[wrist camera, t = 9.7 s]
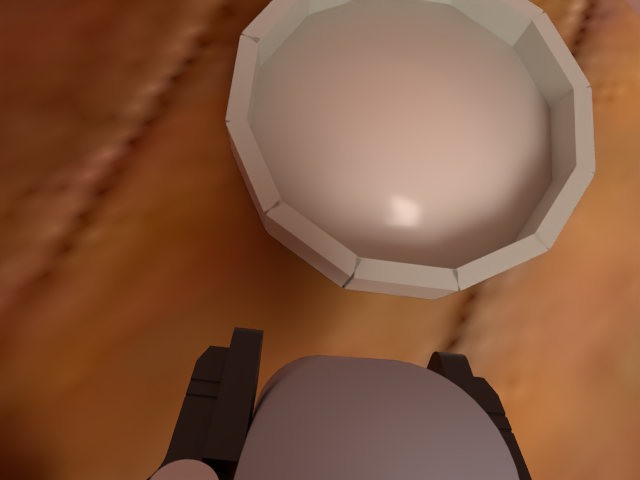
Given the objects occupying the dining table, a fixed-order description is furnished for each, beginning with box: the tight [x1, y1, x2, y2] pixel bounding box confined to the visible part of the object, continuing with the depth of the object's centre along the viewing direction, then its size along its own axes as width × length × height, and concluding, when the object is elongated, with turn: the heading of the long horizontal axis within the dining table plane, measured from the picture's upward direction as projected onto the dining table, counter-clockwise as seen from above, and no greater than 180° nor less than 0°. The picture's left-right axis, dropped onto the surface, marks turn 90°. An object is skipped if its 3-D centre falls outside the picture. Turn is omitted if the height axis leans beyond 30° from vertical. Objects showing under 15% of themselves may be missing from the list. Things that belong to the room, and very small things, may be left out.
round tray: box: [225, 0, 595, 300], centre depth 23 cm, size 17×17×3 cm
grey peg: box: [234, 355, 519, 480], centre depth 11 cm, size 4×4×9 cm
